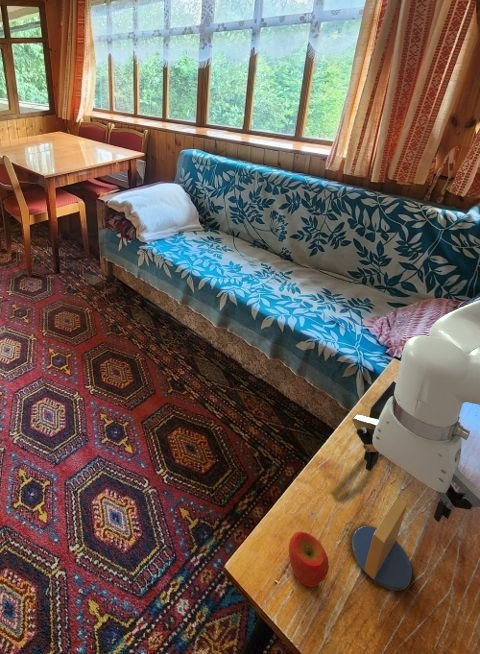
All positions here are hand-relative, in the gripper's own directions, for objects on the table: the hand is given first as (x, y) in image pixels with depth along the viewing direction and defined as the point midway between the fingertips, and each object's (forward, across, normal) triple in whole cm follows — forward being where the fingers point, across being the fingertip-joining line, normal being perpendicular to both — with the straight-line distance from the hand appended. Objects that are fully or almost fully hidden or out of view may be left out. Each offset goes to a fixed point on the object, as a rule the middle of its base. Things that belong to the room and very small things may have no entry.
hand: (403, 488), depth 61 cm
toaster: (+20, +9, -29) cm, 36 cm away
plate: (+20, +1, +1) cm, 20 cm away
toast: (+18, +1, +1) cm, 19 cm away
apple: (+20, +8, +14) cm, 25 cm away
